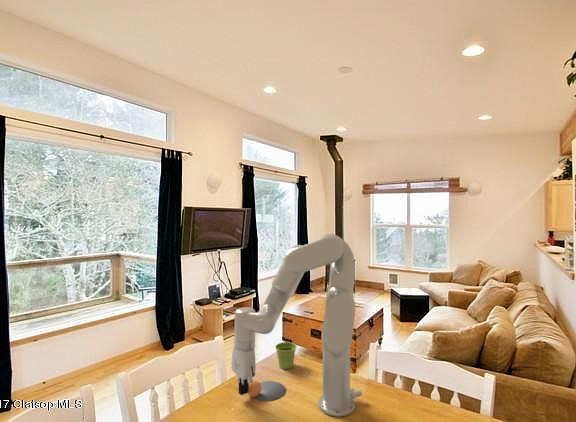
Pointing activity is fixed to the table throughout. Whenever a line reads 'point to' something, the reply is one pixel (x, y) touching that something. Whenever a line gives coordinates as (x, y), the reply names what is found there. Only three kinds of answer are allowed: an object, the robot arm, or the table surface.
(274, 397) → the disc
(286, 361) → the plant pot
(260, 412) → the table surface
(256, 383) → the ball
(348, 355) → the robot arm
